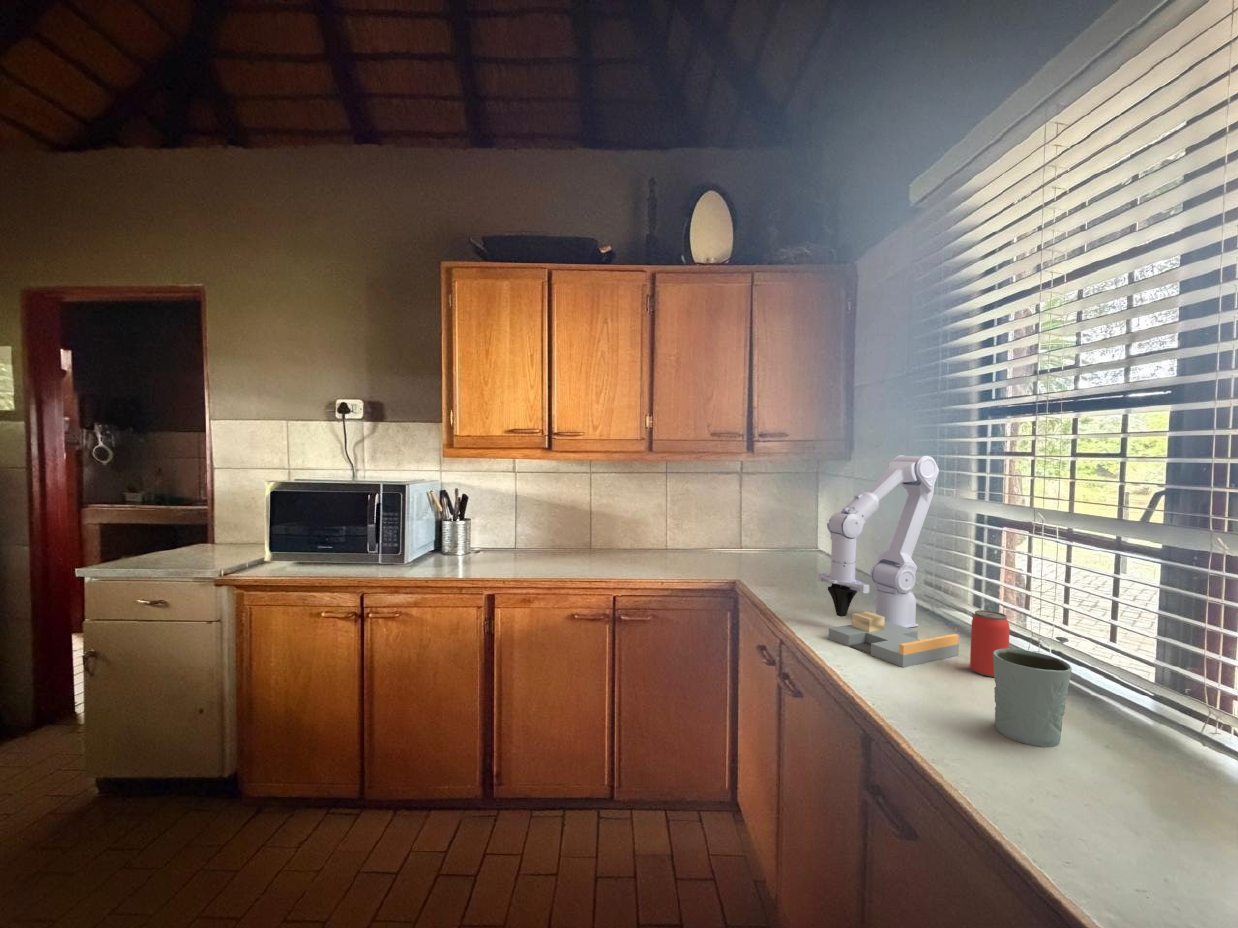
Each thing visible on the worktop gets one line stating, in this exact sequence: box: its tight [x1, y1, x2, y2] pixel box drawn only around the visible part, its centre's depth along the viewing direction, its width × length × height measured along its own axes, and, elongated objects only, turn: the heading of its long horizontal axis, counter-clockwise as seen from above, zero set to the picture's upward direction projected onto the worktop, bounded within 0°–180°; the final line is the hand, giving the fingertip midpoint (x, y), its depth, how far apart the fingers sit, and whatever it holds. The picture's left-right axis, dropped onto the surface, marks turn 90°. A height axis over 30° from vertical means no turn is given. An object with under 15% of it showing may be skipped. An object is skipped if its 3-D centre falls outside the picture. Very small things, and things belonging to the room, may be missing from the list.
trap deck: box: [828, 621, 960, 668], centre depth 135 cm, size 18×20×4 cm
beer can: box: [969, 609, 1011, 678], centre depth 121 cm, size 7×7×12 cm
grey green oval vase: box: [993, 648, 1073, 748], centre depth 94 cm, size 10×10×12 cm
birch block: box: [851, 611, 885, 632], centre depth 141 cm, size 5×5×3 cm
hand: (841, 615), depth 148 cm, fingers closed
